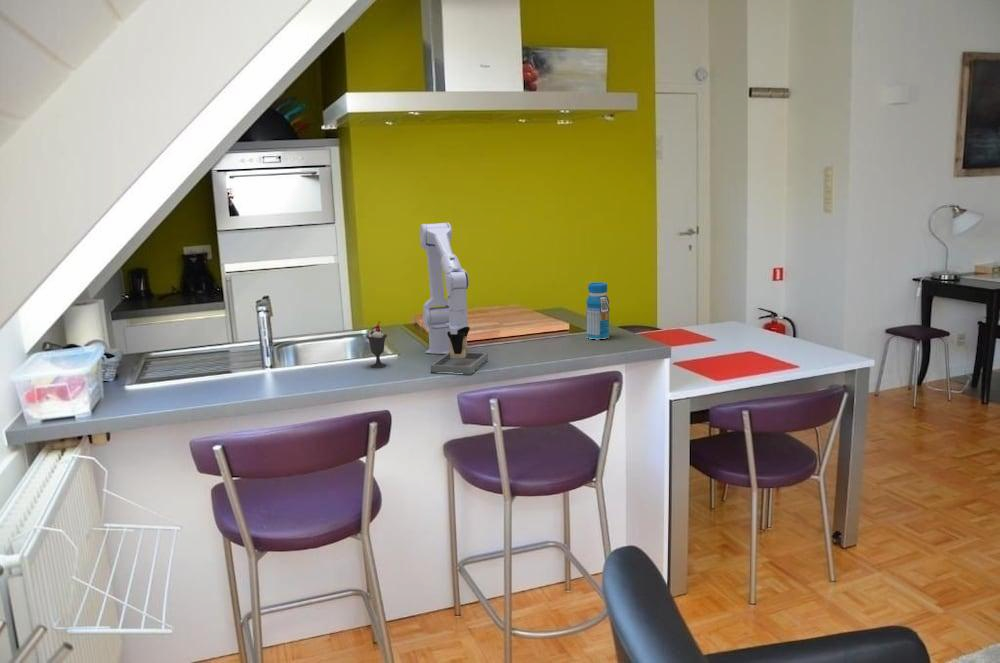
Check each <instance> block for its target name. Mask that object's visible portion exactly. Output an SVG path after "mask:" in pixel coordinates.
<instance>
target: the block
mask: <svg viewBox="0 0 1000 663" xmlns="http://www.w3.org/2000/svg"><path fill="white" fill-rule="evenodd" d="M467 337H468V336H467ZM467 337H466V336H464V339H463V344H462V352H461V354H454V351H453V347H452V343H451V341H450V358H465V357H466V355H467V352H468V345H467V344H468V340H467V339H468V338H467Z"/></svg>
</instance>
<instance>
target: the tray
mask: <svg viewBox="0 0 1000 663" xmlns="http://www.w3.org/2000/svg"><path fill="white" fill-rule="evenodd" d="M488 354H489V353H488V352H474V351H473V352H468V351H467V355H466V357H465V358H450V352H449V353H447V354H443V356H442V357H440V358H439V359H438V360H436V361H434V362H433V363H432V364H431V365H430V373H431V372H454V373H463V374H466V375H465V376H472V375H473V374H474V373H473V371H474V370H476V369H477V368H478V367H479V366H481V365H482V364H483V363H484V362H486V361H487V360H488V361H489V355H488ZM488 361H487V362H488ZM487 362H486V363H487ZM484 364H485V363H484ZM484 364H483V365H484ZM483 365H482V366H483ZM482 366H481V367H482ZM477 370H478V369H477ZM477 370H476V371H477ZM472 373H473V374H472Z"/></svg>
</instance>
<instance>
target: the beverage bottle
mask: <svg viewBox="0 0 1000 663" xmlns="http://www.w3.org/2000/svg"><path fill="white" fill-rule="evenodd" d="M587 287H588V289H587V291H588V293H589V295H588V296H587V298H586V301H585V302H586V307H585V313H586V320H585V321H586V338H587V339H588V338H589V339H588V340H590V339H606V338H608V339H609V338H610V311H611V310H610V307H609V304H610V300H609V297H608V296H607V293H608V283H606V282H601V281H600V282H597V281H596V282H594V281H593V282H589V283H588V286H587ZM606 340H607V339H606Z"/></svg>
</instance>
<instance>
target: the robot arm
mask: <svg viewBox="0 0 1000 663" xmlns="http://www.w3.org/2000/svg"><path fill="white" fill-rule="evenodd" d="M452 228H453V227H452V225H451V224H450V223H449V222H440V223H439V222H438V223H422V224H421V225H420V227H419V242H420V245H421V246H420V247H421V249H423V250H425V252H426V259H427V260H426V261H427V269H428V281H429V282H428V283H429V284H428V285H429V292H430V293H429V294H430V298H428V299H427V300H426V302H424V304H423V308H422V309H423V310H422V319H423V324H424V325H425V326H426V327H428V343H429V349H427V350H426V351H425V354H435V355H436V354H438V355H446V354H447V353H449V352H450V341H451V343H452V347H453V351H454V354H461V352H462V344H463V339H464V336H466V337H468V334H469V332H470V329H471V327H470V326H469V322H468V302H467V301H468V300H467V299H468V296H467V290H468V289H469V285H470V280H469V278H470V277H469V274H468V272H467V271H466V270H465V269H464V268H463V267H462V266H461V263H460V261H459V258H458V256H457V255H456V254H454V253H453V250H452V247H451V241H452V238H453V229H452ZM443 273H444V276H445V277H444V276H443ZM444 285H445V286H444ZM444 288H445V289H446V295H447V298H448V299H447V298H446V297H445V289H444Z"/></svg>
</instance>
